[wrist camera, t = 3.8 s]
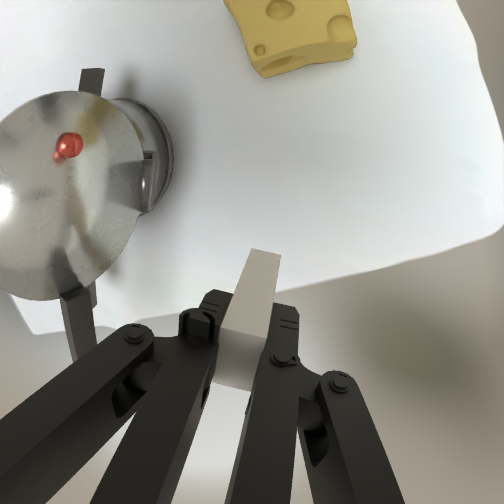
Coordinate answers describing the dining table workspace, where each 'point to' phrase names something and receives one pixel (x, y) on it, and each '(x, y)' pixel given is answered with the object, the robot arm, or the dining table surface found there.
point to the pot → (149, 135)
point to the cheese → (293, 32)
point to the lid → (68, 201)
